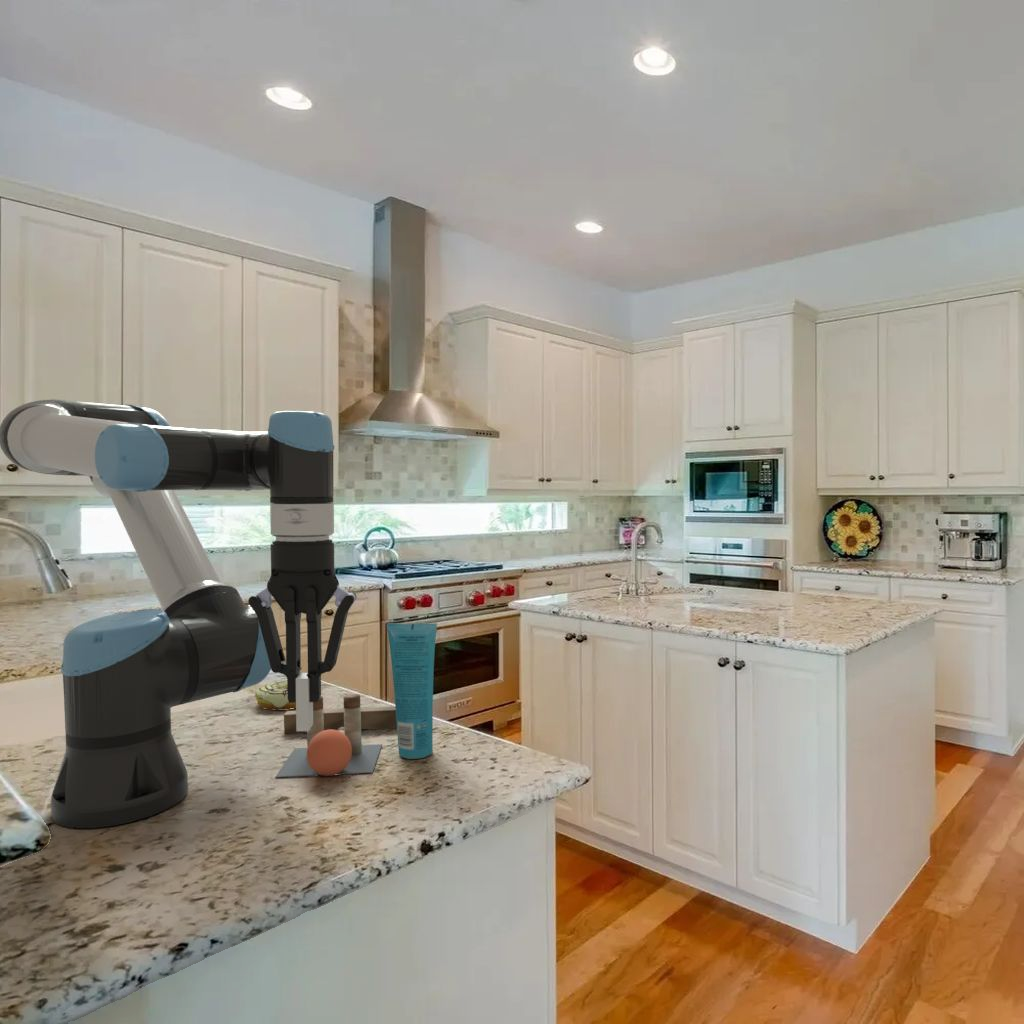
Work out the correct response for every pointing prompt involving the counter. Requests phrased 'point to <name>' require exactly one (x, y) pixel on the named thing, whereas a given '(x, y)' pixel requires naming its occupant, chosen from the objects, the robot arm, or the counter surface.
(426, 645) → the tube
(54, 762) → the counter surface
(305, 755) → the plate
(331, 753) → the ball
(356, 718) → the rear pin left
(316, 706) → the peg
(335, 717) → the back rail
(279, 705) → the decorated donut
